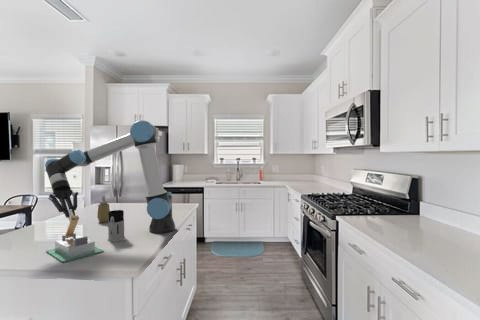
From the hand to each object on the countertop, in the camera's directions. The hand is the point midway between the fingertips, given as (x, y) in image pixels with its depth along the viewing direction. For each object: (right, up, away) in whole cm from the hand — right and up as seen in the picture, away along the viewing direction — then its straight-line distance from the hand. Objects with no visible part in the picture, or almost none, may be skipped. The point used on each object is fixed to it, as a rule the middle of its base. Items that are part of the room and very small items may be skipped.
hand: (72, 221), depth 131 cm
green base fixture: (+1, -14, 0) cm, 14 cm away
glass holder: (+12, -14, +17) cm, 25 cm away
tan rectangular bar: (-1, -4, +1) cm, 4 cm away
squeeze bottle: (-15, -13, +60) cm, 63 cm away
